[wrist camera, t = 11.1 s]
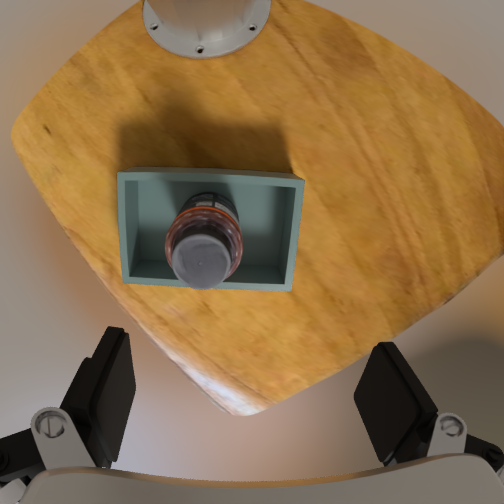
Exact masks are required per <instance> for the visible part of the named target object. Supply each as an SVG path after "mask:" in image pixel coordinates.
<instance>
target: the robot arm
mask: <svg viewBox="0 0 504 504" xmlns="http://www.w3.org/2000/svg"><path fill="white" fill-rule="evenodd" d="M270 4H271V0H145V2H144V5H143V20H144V25H145V27H146V29H147V31H148V33H149V35H150V36H151V37H152V39H153V40H154V41H155V42H156V43H157V44H158V45H159V46H160V47H162V48H164V49H165V50H167V51H168V52H170V53H173V54H175V55H178V56H181V57H186V58H191V59H208V58H216V57H220V56H224V55H228V54H230V53H233V52H235V51H237V50H239V49H241V48H242V47H244V46H246V45H247V44H249V43H250V42H251V41H252V40H253V39H254V38H255V37H257V36H258V34H259V33H260V32H261V30H262V29H263V28H264V25H265V23H266V21H267V19H268V16H269V12H270ZM156 27H158V28H157V29H156V30H154V28H156ZM250 28H254V29H255V30H254V31H251V30H250ZM199 50H203V52H202V53H198V51H199ZM135 391H136V383H135V376H134V370H133V363H132V355H131V348H130V339H129V334H128V333H125V332H124V329H123V328H118V327H111V326H108V327H107V329H106V331H105V333H104V335H103V336H102V338H101V340H100V342H99V344H98V346H97V348H96V350H95V352H94V354H93V356H92V358H88V357H86V358H85V359H84V360H83V362H82V363H81V365H80V367H79V369H78V371H77V373H76V375H75V377H74V379H73V381H72V383H71V385H70V387H69V389H68V391H67V393H66V395H65V397H64V399H63V401H62V403H61V405H60V408H56V407H47V408H43V409H41V410H39V411H38V412H37V413H35V415H34V416H33V418H32V420H31V428H29V429H27V430H24V431H21V432H18V433H15V434H12V435H10V436H7V437H4V438H1V439H0V504H15V503H16V502H19V504H504V454H503V452H502V450H501V449H500V448H499V447H498V446H496V445H494V444H491V443H488V442H486V441H484V440H481V439H478V438H476V437H474V436H471V435H469V434H467V427H466V424H465V422H464V421H463V420H462V419H461V418H460V417H459V416H457V415H455V414H452V413H444V414H441V415H440V416H438V415H437V412H438V409H437V407H436V405H435V404H434V402H433V401H432V399H431V398H430V396H429V394H428V393H427V391H426V390H425V388H424V387H423V385H422V384H421V382H420V381H419V379H418V378H417V376H416V375H415V373H414V372H413V370H412V369H411V367H410V366H409V364H408V363H407V361H406V360H405V358H404V357H403V355H402V354H401V352H400V351H399V350H398V348H397V347H396V345H395V344H394V343H393V342H379V343H378V344H377V346H375V347H374V348H373V350H372V352H371V355H370V358H369V360H368V362H367V365H366V367H365V369H364V372H363V374H362V376H361V379H360V381H359V383H358V385H357V388H356V390H355V392H354V401H355V403H356V406H357V408H358V411H359V413H360V415H361V418H362V420H363V423H364V425H365V427H366V430H367V432H368V435H369V437H370V440H371V442H372V444H373V447H374V449H375V452H376V454H377V457H378V459H379V461H380V462H383V464H384V467H381V468H377V469H372V470H367V471H362V472H356V473H349V474H343V475H336V476H328V477H320V478H311V479H300V480H287V481H261V482H233V481H208V480H193V479H182V478H173V477H164V476H155V475H148V474H141V473H135V472H129V471H122V470H115V469H109V468H111V464H112V461H113V462H116V461H117V459H118V455H119V451H120V446H121V443H122V439H123V435H124V431H125V427H126V424H127V420H128V416H129V413H130V409H131V406H132V402H133V399H134V395H135ZM102 467H106V468H102Z"/></svg>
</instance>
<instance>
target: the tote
mask: <svg viewBox="0 0 504 504" xmlns="http://www.w3.org/2000/svg"><path fill="white" fill-rule="evenodd" d="M304 184H305V180H304V179H302V178H300V177H298V176H297V175H295V174H293V173H281V172H269V171H255V170H240V169H221V168H196V167H132V168H129V169H126V170H123V171H120V172H117V196H118V224H119V242H120V256H121V268H122V278H123V283H129V284H143V285H158V286H175V287H188V286H186V285H185V284H183V283H182V282H181V281H180V280H179V279H178V278H177V277H176V275H175V273H174V271H173V269H172V268H171V266H170V265H169V263H168V260H167V258H166V254H165V239H166V235H167V232H168V230H169V228H170V226H171V225H172V223H173V221H174V220H175V218H176V216H177V215H178V213H179V211H180V210H181V208H182V207H183V205H184V204H185V202H186V201H187V200H188V199H189V198H191V197H192V196H193V195H196V194H198V193H201V192H216V193H220V194H222V195H224V196H225V197H227V198H228V199H229V200H230V201H231V202H232V203H233V205H234V206H235V208H236V210H237V212H238V216H239V222H240V228H241V234H242V240H243V254H242V258H241V260H240V263H239V265H238V267H237V268H236V270H235V271H234V272H233V273H232V274H231V275H230V276H229V277H228V278H226V279H225V280H224V281H223V282H222V283H220V284H219V285H217V286H216V287H213V289H237V290H264V291H291V288H292V281H293V274H294V267H295V259H296V252H297V244H298V236H299V228H300V220H301V211H302V202H303V193H304Z"/></svg>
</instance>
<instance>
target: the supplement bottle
mask: <svg viewBox="0 0 504 504" xmlns="http://www.w3.org/2000/svg"><path fill="white" fill-rule="evenodd" d="M165 254H166V258H167V260H168V263H169V265H170V266H171V268H172V269H173V271H174V273H175V275H176V277H177V278H178V279H179V280H180V281H181V282H182V283H183V284H185V285H186V286H188V287H190V288H193V289H199V290H206V289H210V288H213V287H216V286H217V285H219V284H220V283H222V282H223V281H224V280H225V279H226V278H228V277H229V276H230V275H231V274H232V273H233V272H234V271H235V270H236V268H237V267H238V265H239V263H240V260H241V258H242V254H243V240H242V234H241V228H240V222H239V216H238V212H237V210H236V208H235V206H234V205H233V203H232V202H231V201H230V200H229V199H228V198H227V197H225V196H224V195H222V194H220V193H216V192H201V193H198V194H196V195H193V196H192V197H191V198H189V199H188V200H187V201H186V202H185V204H184V205H183V207H182V208H181V210H180V211H179V213H178V215H177V216H176V218H175V220H174V221H173V223H172V225H171V226H170V228H169V230H168V232H167V235H166V239H165Z"/></svg>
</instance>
